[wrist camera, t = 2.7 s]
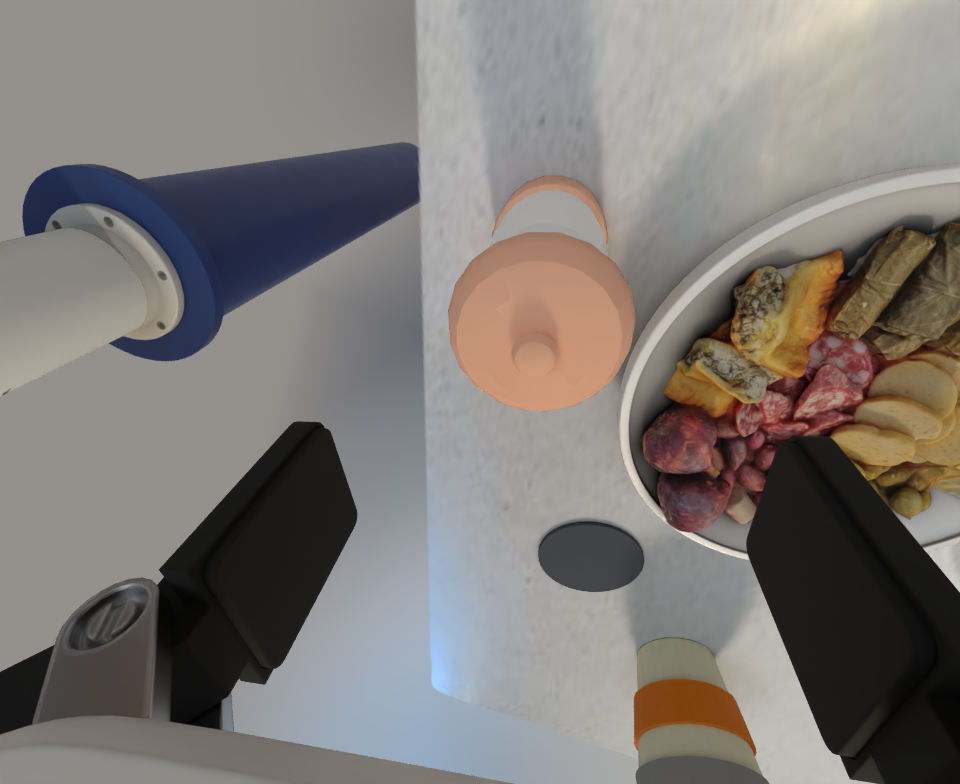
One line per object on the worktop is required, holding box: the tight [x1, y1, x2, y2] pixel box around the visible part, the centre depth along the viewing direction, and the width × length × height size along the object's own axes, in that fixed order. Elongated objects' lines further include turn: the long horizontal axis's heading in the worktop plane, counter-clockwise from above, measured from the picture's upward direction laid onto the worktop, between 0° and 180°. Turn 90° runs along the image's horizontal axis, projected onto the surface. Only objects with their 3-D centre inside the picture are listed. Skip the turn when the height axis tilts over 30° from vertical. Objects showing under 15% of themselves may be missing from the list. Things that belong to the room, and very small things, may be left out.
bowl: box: [617, 163, 960, 560], centre depth 30 cm, size 30×30×8 cm
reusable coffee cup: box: [634, 638, 769, 784], centre depth 48 cm, size 13×13×15 cm
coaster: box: [538, 522, 644, 592], centre depth 47 cm, size 11×11×1 cm
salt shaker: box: [448, 176, 636, 411], centre depth 22 cm, size 7×7×19 cm
